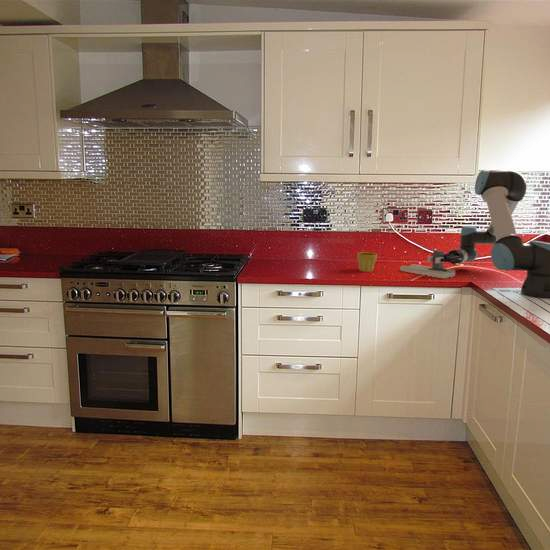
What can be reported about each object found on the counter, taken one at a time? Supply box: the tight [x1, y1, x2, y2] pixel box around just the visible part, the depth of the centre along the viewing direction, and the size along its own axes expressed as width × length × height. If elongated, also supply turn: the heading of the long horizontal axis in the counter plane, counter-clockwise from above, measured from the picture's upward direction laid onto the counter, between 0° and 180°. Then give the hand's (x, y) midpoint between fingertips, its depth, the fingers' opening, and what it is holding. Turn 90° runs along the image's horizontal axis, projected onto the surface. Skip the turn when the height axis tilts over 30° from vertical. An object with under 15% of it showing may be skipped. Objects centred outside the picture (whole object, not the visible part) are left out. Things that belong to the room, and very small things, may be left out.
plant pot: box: [356, 251, 378, 273], centre depth 270 cm, size 10×10×10 cm
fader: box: [428, 249, 447, 272], centre depth 260 cm, size 6×7×10 cm
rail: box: [399, 263, 456, 279], centre depth 265 cm, size 26×10×3 cm, turn 40°
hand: (432, 260), depth 256 cm, fingers open, 4 cm apart
